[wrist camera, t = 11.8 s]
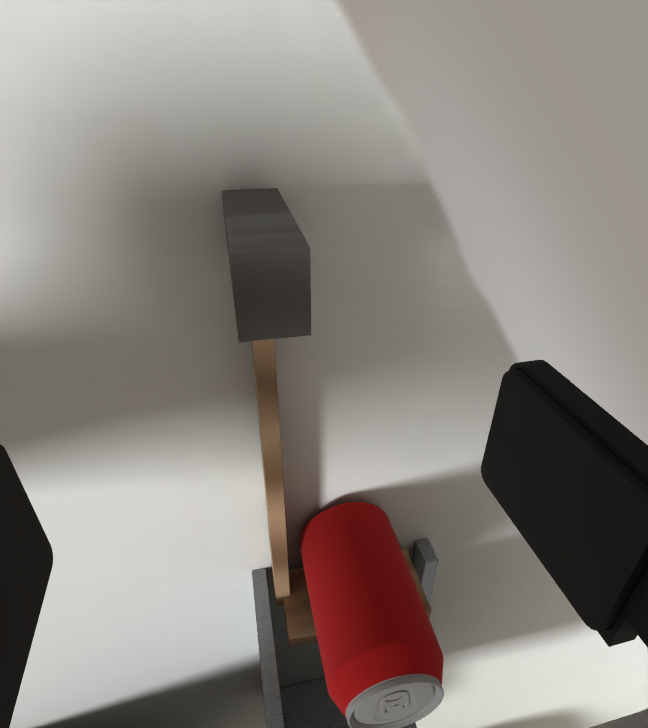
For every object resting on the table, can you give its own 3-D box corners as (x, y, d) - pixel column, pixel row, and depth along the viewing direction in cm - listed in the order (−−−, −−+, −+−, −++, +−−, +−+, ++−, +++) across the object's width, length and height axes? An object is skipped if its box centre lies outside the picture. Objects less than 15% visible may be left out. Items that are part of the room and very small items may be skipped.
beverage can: (302, 564, 37) (339, 751, 27) (291, 505, 33) (328, 698, 23) (387, 543, 37) (453, 717, 27) (385, 483, 34) (460, 661, 24)
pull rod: (221, 190, 21) (229, 253, 14) (462, 180, 23) (569, 230, 16) (264, 583, 36) (277, 701, 29) (405, 556, 38) (447, 661, 31)
